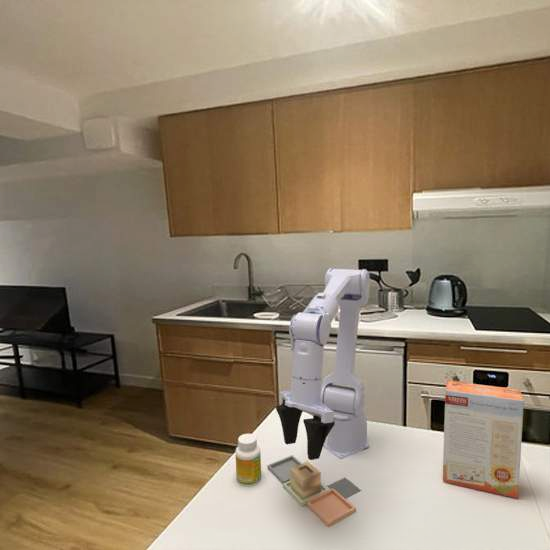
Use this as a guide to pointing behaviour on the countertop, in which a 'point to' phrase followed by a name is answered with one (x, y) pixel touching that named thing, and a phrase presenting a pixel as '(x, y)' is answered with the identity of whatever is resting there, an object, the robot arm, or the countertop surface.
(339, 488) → the slate mat
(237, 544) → the countertop surface
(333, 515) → the terracotta dish
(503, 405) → the cracker box
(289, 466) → the charcoal dish
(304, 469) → the letter cube
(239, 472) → the supplement bottle
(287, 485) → the sage dish
